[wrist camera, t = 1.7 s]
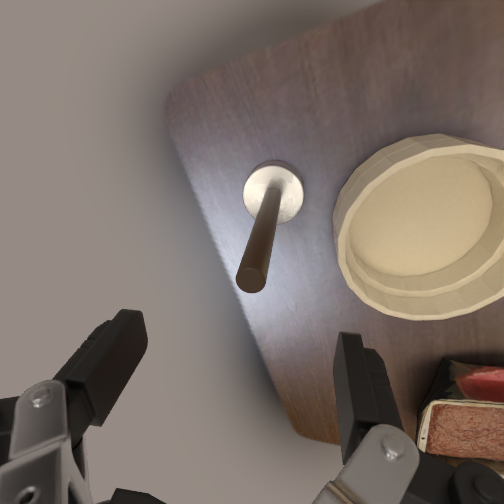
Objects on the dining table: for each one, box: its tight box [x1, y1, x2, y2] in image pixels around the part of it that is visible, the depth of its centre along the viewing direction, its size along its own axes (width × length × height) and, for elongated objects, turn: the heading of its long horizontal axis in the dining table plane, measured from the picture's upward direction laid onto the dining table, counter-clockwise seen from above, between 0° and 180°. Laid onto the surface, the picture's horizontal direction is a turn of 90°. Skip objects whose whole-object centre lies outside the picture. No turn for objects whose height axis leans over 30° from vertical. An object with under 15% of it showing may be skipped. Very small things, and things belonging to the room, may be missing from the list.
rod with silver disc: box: [236, 160, 304, 293], centre depth 23 cm, size 6×6×16 cm
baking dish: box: [415, 358, 504, 478], centre depth 36 cm, size 14×18×10 cm
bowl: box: [332, 133, 504, 320], centre depth 27 cm, size 15×15×6 cm
